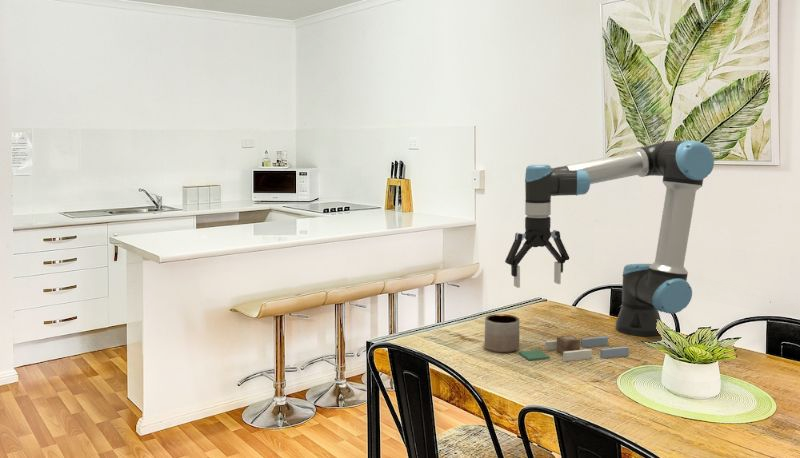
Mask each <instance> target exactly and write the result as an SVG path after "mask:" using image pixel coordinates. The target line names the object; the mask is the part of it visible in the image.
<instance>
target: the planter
mask: <svg viewBox="0 0 800 458" xmlns="http://www.w3.org/2000/svg"><path fill="white" fill-rule="evenodd" d="M520 321H521V320H520V318H519V317H517V316H516V315H511V314H505V313H504V314H502V313H500V314H499V313H497V314H490V315H487V316H485V318H484V342H483V343H484V344H483V345H484V347H485V349H487V350H488V351H491V352H493V353H498V354H499V353H500V354H507V353H508V354H509V353H513V352H516V351H518V350H519V349H520V323H521V322H520Z"/></svg>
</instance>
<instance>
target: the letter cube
mask: <svg viewBox="0 0 800 458" xmlns="http://www.w3.org/2000/svg"><path fill="white" fill-rule="evenodd" d="M556 340H557V349H556V353H557V354H559V355H560V356H562V357H563V352H565V351H575V350H581V339H579V338H577V337H576V336H573V335H572V334H570V335H561V336H557V337H556Z"/></svg>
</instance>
